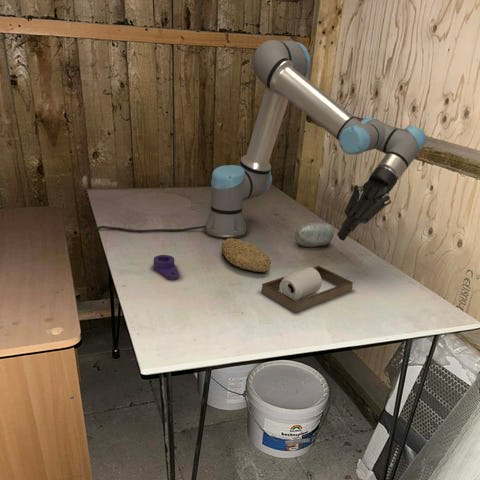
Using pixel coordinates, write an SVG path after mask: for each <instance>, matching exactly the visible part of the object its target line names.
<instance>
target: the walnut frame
mask: <svg viewBox="0 0 480 480" xmlns="http://www.w3.org/2000/svg"><path fill="white" fill-rule="evenodd" d="M312 268H314V269H316V270H317V271H318V273H319V274H320V276H321V279H323V280H324V281H327V282H329V283H331V284H333V285H335V286H334V287H331V288H328V289H326V290H323V291H321V292H318V293H315V294H311V295H310V296H306V297H303V298H301V299H299V300H297V301H295V300H293V299H292V298H290V297H288V296H286V295H285V294H283V293H281V292H280V289H279V286H280V283H281V282H282V280H283V278H284V277H286V276H287V275H285V276H282V277H278V278H276V279H273V280H269V281H267V282H264V283H261V294H262V295H264V296H266V297H268V299H269V298H270V299H271V300H272V301H274V302H276V303H277V304H279V305H281V306H282V307H283V308H286V309H287V310H289V311H291V312H292V313H294V314H297V313H299V312H302V311H305V310H307V309H309V308H312V307H314V306H317V305H320V304H322V303H325V302H328V301H330V300H332V299H335V298H337V297H340V296H343V295H345V294H348V293H351V292H352V291H353V286H354V281H351V280H349V279H347V278H345V277H343V276H341V275H339V274H337V273H335V272H333V271H331V270H329V269H327V268H325V267H323V266H321V265H316V266H313V267H312Z"/></svg>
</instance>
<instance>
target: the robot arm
mask: <svg viewBox="0 0 480 480" xmlns="http://www.w3.org/2000/svg"><path fill="white" fill-rule="evenodd" d="M252 68H253V71H254V74H255V76H256V77H257V79H258V80H259V81H260V82H261V83H262V84H263V85H264V87H265V88H264V92H263V96H262V99H261V103H260V107H259V110H258V113H257V116H256V120H255V123H254V127H253V131H252V134H251V138H250V140H249V144H248V148H247V151H246V154H245V155H243V156H242V157H240V161H239V164H238V165H236V164H228V165H221V166H218V167H216V168H214V170H213V171H212V173H211V179H210V184H211V185H210V212H209V214H208V218H207V220H206V222H205V225H200V226H199V225H198V226H192V227H184V228H152V229H151V228H150V229H133V228H126V227H125V228H124V227H118V226H109V225H108V226H107V225H99V226H96V227H95V228H94V229H93V231H94V232H97V230H100V229H108V230H117V231H118V230H119V231H124V232H125V231H126V232H130V233H131V232H133V233H149V232H150V233H151V232H184V231H190V230H197V229H198V230H199V229H204V231H205V233H206V234H207V235H208V236H210V237H213V238H216V239H223V240H227V239H230V238H234V239H239V238H242V237H244V236H245V235H246V233H247V227H246V221H245V219H244V215H243V205H244V201H247V200H250V199H253V198H258V197H260V196H262V195H263V194H265V193H267V192H268V191H269V190H270V188H271V186H272V182H273V175H272V165H271V164H270V159H271V156H272V153H273V149H274V147H275V143H276V141H277V137H278V134H279V131H280V128H281V125H282V122H283V118H284V115H285V112H286V110H287V106H288V103H289V102H291V103H292V104H293V105H295V106H296V107H297V108H298V109H299V110H300V111H302V112H303V113H304V114H305V115H307V116H308V117H309V118H310V119H311V120H313V121H314V122H315V124H317V125H319V126H320V127H321V128H323V129H324V130H325V131H326V132H327V133H329V134H330V135H331V136H332V137H333V138H334V139H336V140H337V141H338V144H339V147H340V149H341V151H342V152H343V153H345V154H346V155H351V156H353V155H355V156H356V155H360V154H363V153H365V152H369V151H372V150H377V151H378V152H381V153H383V154H385V155H384V156H383V157H382V159H381V160H380V162H379V163H378V164H377V167H375V169H374V170H373V171H372V173H371V174H370V175H369V178H368V180H367V181H366V182H365V183H364V184H363V185H357V184H356V185H354V186H353V192H352V194H351V196H350V198H349V200H348V202H347V204H346V207H345V209H344V211H343V212H344V214H345V216H346V218H345V219H344V221H343V222H342V223H341V228H340V229H339V231H338V232H337V233H336V236H337V237H338V239H339V240H341V241H343V242H344V241H345V240H346V239H347V237H348V236H349V235H350V234H351V232H354V231H355V230H356V229H357V227H358V225H360V224H368V222H370V221H371V220H372V219H373V218H374V217H375V216H376V215H377V214H378V213H380V211H382V210H383V209H384V208H385V207H386V206H388V205H390V204H392V199H391V197H390V195H389V194H390V192H391V191H392V190H393V189H394V187H395V186H396V184H397V182H398V181H399V180H400V179H401V178H402V176H403V175H404V173H405V172H406V171H407V169H408V167H409V166H410V165H411V164H412V163H413V161H414V160H415V159H416V157H417V156H418V155H419V154H420V152H421V151H422V149H423V147H424V146H425V144H426V142H427V134H426V133H425V132H424V130H422V128H421V127H419V126H417V125H407V126H406V127H405V128H403V129H400V128H396V127H394V126H392V125H391V124H388V123H385V122H383V121H381V120H379V118H374V117H372V116H365V117H364V118H363V119H362V120H361V121H360V120H359V119H357V118H356V116H354V115H353V114H352V113H351V112H349V111H348V110H347V109H346V108H344V107H343V106H341V105H340V104H339V103H338V102H337V101H335V99H332V98H331V96H329V95H328V94H326V93H325V92H324V91H323V90H322V89H320V88H319V87H318V86H317V85H315V84H314V83H313V82H312V81H310V80H309V79H308V78H307V76H308V75H309V72H310V70H311V56H310V53H309V51H308V49H307V47H306V46H305V45H304V44H302V43H301V42H298V41H293V40H277V39H269V40H266V41H264V42H263V43H261V44H260V45H259V46H258V47H257V48H256V49H255V51H254V54H253V57H252Z"/></svg>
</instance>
